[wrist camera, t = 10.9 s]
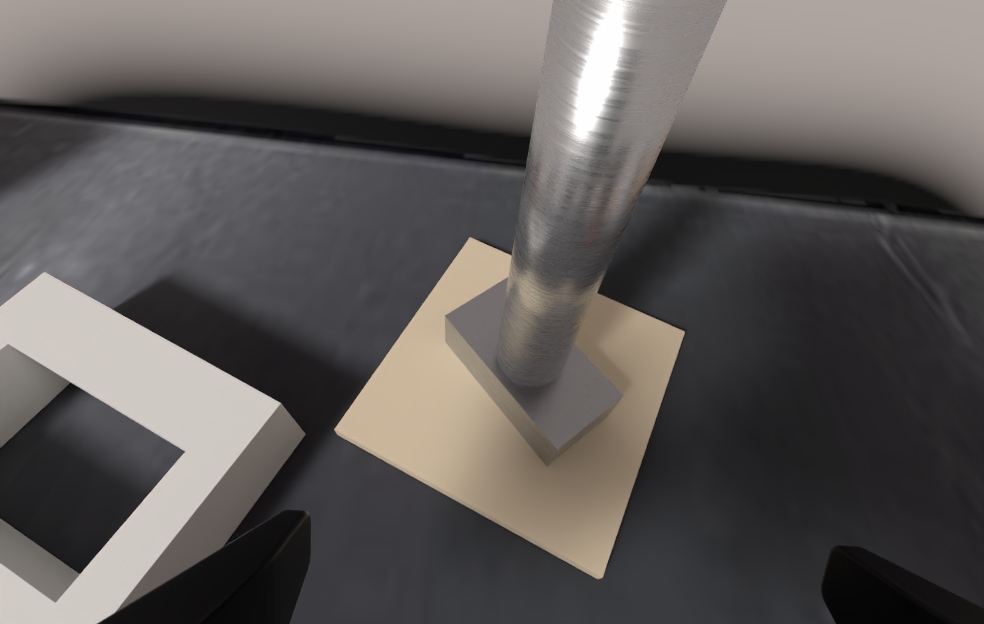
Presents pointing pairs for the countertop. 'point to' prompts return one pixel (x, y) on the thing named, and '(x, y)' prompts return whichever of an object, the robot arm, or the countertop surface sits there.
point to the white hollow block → (158, 407)
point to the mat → (492, 437)
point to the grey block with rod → (578, 207)
